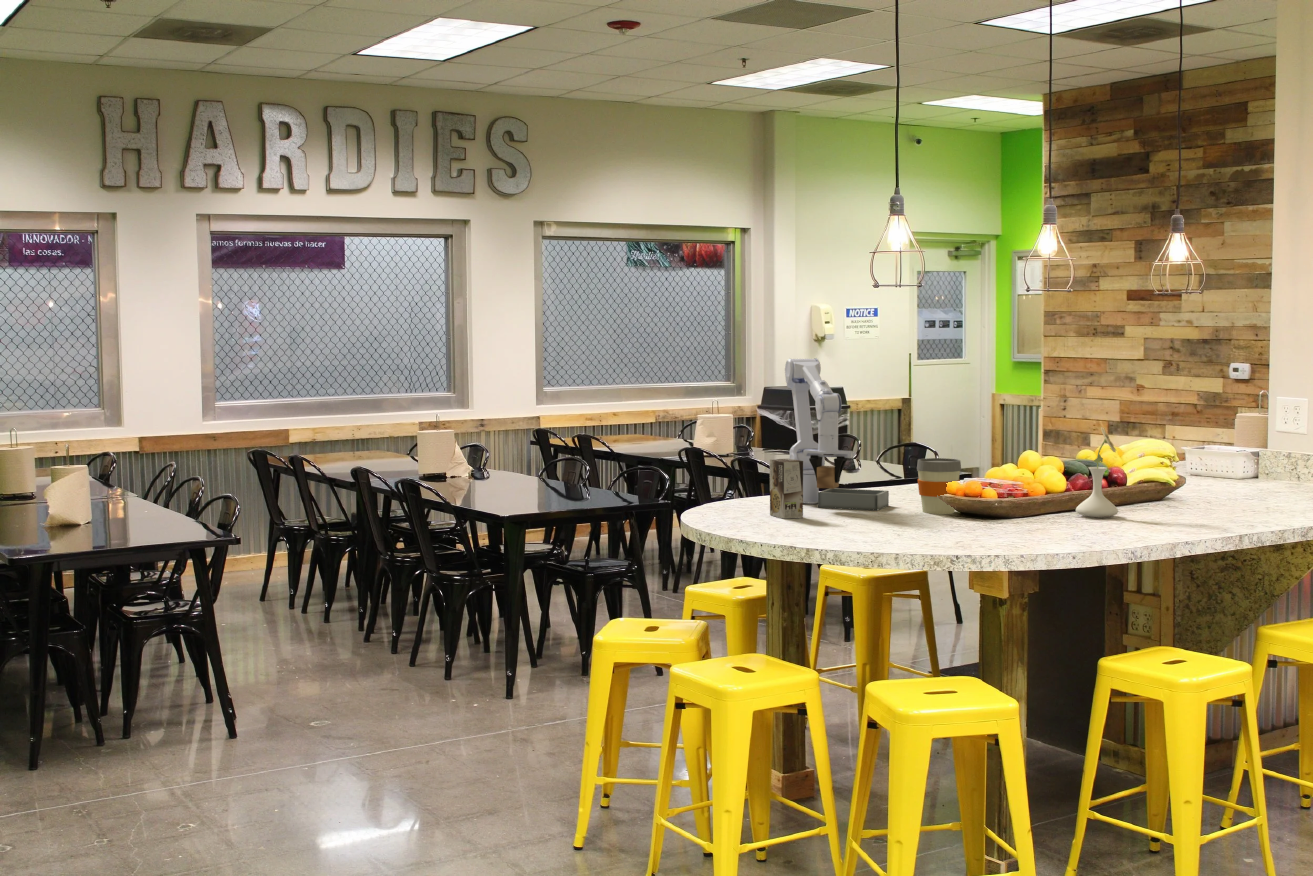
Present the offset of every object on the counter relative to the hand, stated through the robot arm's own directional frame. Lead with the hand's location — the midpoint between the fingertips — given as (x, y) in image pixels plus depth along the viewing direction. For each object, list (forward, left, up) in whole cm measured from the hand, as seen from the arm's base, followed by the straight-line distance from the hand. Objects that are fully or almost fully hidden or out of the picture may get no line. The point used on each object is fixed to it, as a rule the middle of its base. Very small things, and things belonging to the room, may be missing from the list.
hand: (827, 481), depth 394 cm
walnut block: (0, 0, -2) cm, 2 cm away
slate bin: (+4, +11, -8) cm, 15 cm away
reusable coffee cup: (+30, +9, -9) cm, 33 cm away
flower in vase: (+73, +17, -9) cm, 76 cm away
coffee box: (-7, -17, -9) cm, 20 cm away
